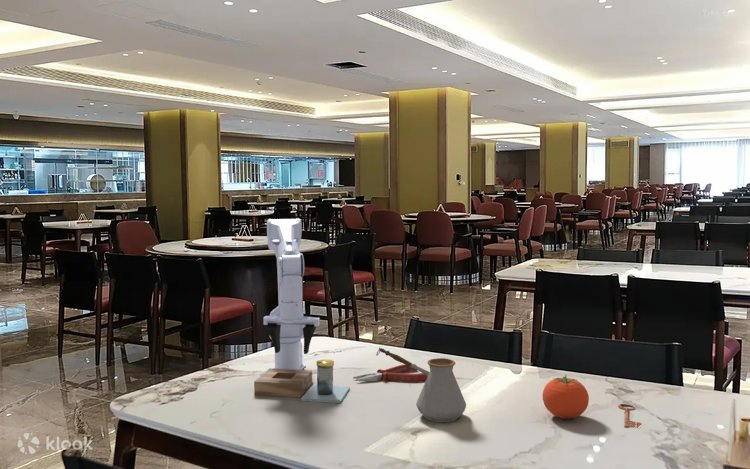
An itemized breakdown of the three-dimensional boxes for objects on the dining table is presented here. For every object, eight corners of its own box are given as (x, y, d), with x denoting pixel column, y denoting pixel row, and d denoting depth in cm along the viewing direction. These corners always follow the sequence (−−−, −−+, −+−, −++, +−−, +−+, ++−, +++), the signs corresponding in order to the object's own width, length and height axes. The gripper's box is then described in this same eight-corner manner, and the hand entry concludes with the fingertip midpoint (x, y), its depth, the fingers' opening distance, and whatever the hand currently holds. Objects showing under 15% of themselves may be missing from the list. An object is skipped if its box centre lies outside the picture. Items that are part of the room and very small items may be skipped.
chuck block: (269, 380, 179) (269, 368, 179) (312, 383, 177) (312, 370, 177) (254, 394, 168) (254, 381, 167) (300, 397, 166) (299, 383, 165)
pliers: (348, 377, 184) (348, 368, 184) (415, 371, 190) (415, 362, 190) (360, 390, 173) (360, 380, 173) (431, 382, 180) (431, 373, 179)
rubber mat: (312, 387, 174) (312, 385, 174) (349, 389, 172) (349, 386, 172) (301, 400, 163) (301, 398, 163) (340, 403, 161) (340, 400, 161)
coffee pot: (470, 410, 156) (470, 348, 155) (461, 428, 145) (461, 361, 144) (383, 401, 162) (383, 341, 161) (369, 417, 152) (368, 353, 150)
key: (644, 432, 144) (643, 410, 158) (645, 428, 144) (644, 406, 158) (616, 427, 146) (618, 405, 160) (616, 423, 146) (618, 401, 160)
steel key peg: (315, 395, 165) (315, 363, 165) (317, 390, 170) (317, 359, 169) (332, 395, 165) (332, 364, 164) (334, 390, 169) (334, 359, 169)
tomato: (586, 411, 155) (587, 370, 154) (589, 427, 145) (591, 383, 144) (542, 408, 157) (542, 367, 157) (542, 423, 148) (542, 379, 147)
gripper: (259, 302, 167) (260, 355, 168) (314, 304, 165) (315, 357, 166) (267, 297, 174) (268, 348, 175) (321, 299, 172) (321, 350, 173)
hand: (291, 352), depth 171 cm, fingers open, 7 cm apart
